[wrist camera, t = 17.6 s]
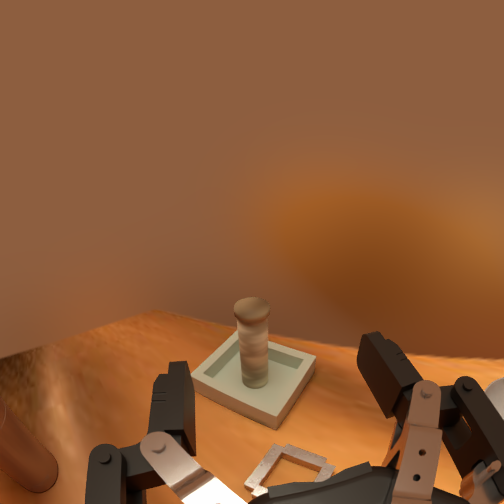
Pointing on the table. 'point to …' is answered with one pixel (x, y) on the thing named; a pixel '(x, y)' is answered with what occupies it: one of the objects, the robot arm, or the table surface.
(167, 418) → the robot arm
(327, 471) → the stop collar
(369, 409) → the table surface
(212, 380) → the tray
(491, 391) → the chinaware
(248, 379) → the stop peg
